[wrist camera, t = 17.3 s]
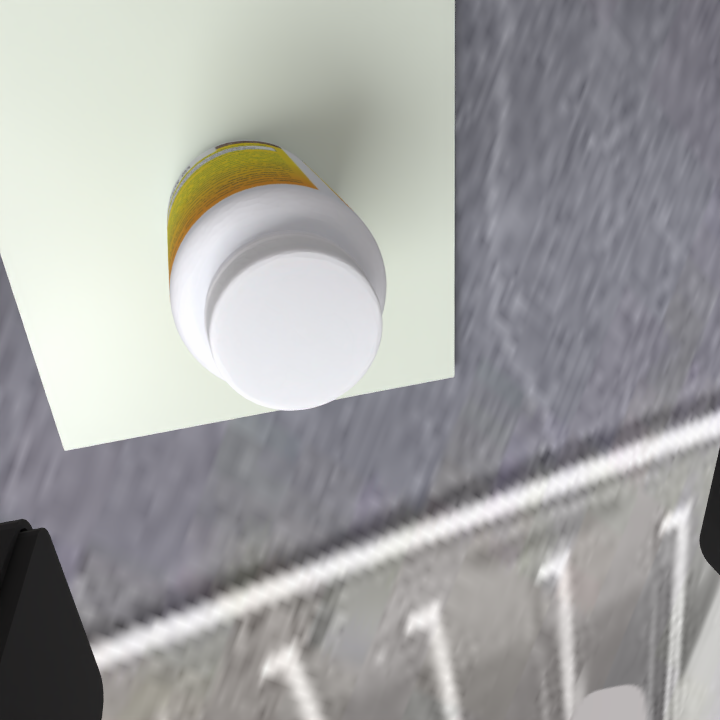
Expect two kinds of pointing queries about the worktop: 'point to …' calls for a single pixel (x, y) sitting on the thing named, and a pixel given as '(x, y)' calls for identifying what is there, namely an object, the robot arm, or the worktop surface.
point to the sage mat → (180, 147)
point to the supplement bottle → (272, 276)
